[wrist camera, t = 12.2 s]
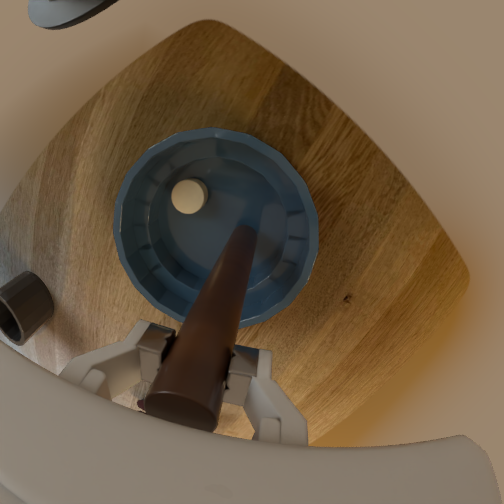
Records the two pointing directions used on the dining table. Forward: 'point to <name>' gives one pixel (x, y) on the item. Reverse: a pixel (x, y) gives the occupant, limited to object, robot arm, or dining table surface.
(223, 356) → the stick
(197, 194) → the dough
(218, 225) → the bowl
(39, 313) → the holder
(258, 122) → the dining table surface
